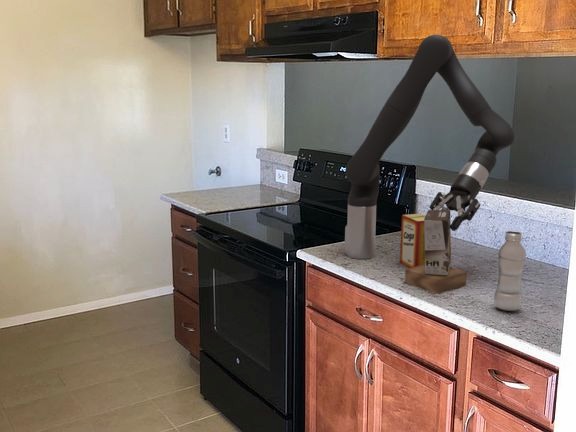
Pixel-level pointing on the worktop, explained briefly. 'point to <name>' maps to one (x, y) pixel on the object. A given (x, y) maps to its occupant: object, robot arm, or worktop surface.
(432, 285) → the brown flat square block
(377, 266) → the worktop surface
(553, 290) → the worktop surface
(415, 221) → the baking soda box
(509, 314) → the worktop surface
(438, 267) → the coffee box
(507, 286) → the plastic bottle
